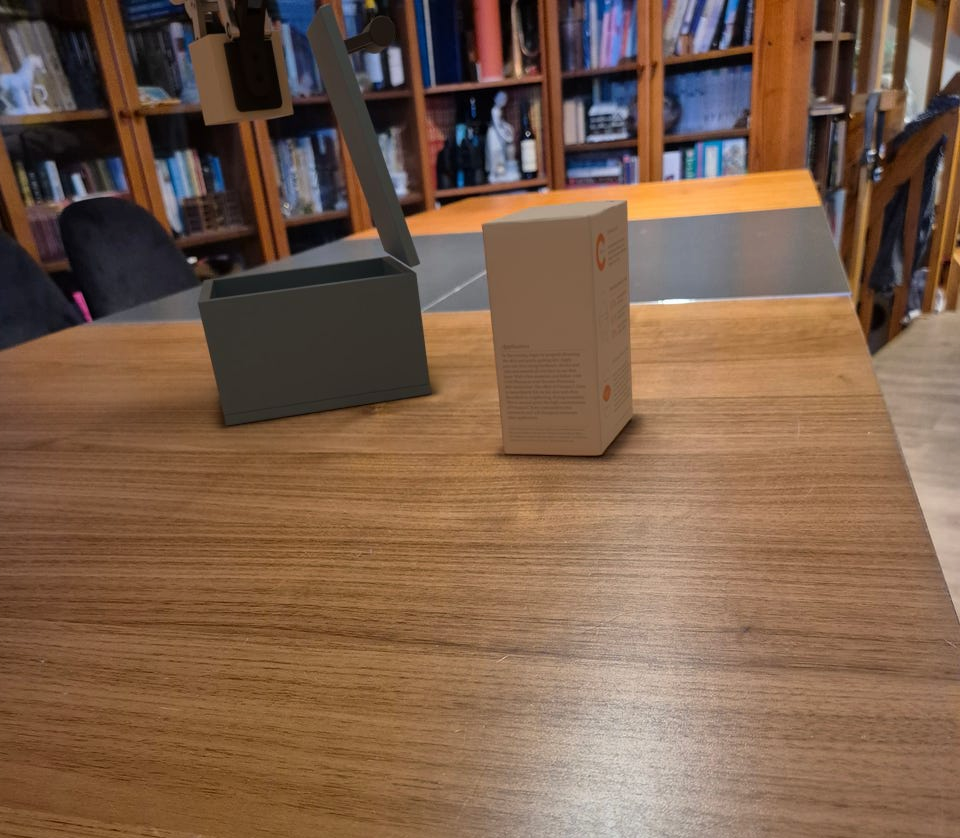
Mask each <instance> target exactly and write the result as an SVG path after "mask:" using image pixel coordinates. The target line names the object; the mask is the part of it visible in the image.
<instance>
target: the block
mask: <svg viewBox="0 0 960 838" xmlns="http://www.w3.org/2000/svg"><path fill="white" fill-rule="evenodd" d="M265 40H272V46H273V51H274V57H275V62H276V68H277V74H278V79H279V85H280V91H281V96H282V106H281V107H280V108H278V109H270V110H260V111H249V112H240V111H238V110H237V108H236V105H235V100H234V95H233V90H232V85H231V80H230V75H229V70H228V64H227V59H226V54H225V49H224V43H228V42H231V41H229V39H228V37H227V34H226V33H224V34H209V35H207V36H205V37H203V38H201V39H199V40H196V41H195V40H194V41H192V42H191V43H189V44H187V47H188V51H189V56H190V61H191V65H192V70H193V74H194V75H193V76H194V80H195V84H196V89H197V93H198V99H199V102H200V106H201V107H200V108H201V110H202V116H203V122H204V125H205V127H206V126H215V125H216V126H217V125H225V124H226V125H227V124H236V123H245V122H247V123H248V122H255V121H256V122H257V121H265V120H273V119H277V118H282V117H287V116H291V115H295V114H294V107H293V101H292V95H291V89H290V84H289V78H288V73H287V66H286V61H285V55H284V50H283V43H282V37H281V31H280V30H278V29H277V30H272V35H271V39H265ZM233 42H235V41H233Z"/></svg>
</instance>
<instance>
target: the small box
mask: <svg viewBox="0 0 960 838" xmlns="http://www.w3.org/2000/svg"><path fill="white" fill-rule="evenodd" d="M628 211H629V210H628V200H626V199H608V200H607V199H605V200H592V201H591V200H590V201H577V202H576V201H575V202H567V203H556V204H549V205H547V204H546V205H539V206H538V205H537V206H530V207H526V208H524V209H521V210H518V211H515V212H512V213H509V214H507V215H504V216H501V217H498V218H495V219H492V220H489V221H486V222H483V223H481V230H482V240H483V249H484V260H485V272H486V282H487V291H488V301H489V311H490V322H491V332H492V342H493V353H494V365H495V374H496V383H497V393H498V404H499V416H500V424H501V435H502V436H501V437H502V449H503V452H504V453H505V454H506V455H549V456H551V455H552V456H600V455H603V453H604V452H605V451H606V449H607V448H608V447H609V446H610V444H611V443H612V442H613V441H614V440H615V438H616V437H617V436H618V435H619V434H620V432H621V431H622V430H623V428H625V426H626V425H627V424H628V422H629V421H630V420H631V419H632V418H633V416H634V411H633V407H634V406H633V376H632V374H633V373H632V354H631V353H632V349H631V302H630V301H631V298H630V297H631V296H630V295H631V294H630V259H629V258H630V257H629V255H630V254H629V253H630V252H629V251H630V250H629V217H628V216H629V215H628V214H629V213H628Z"/></svg>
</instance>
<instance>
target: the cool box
mask: <svg viewBox="0 0 960 838" xmlns="http://www.w3.org/2000/svg"><path fill="white" fill-rule="evenodd" d="M420 299H421V298H420V291H419V283H418V275H417V272H415V271H414V270H412V269H411V268H410V267H409V266H407V265H406V264H404V263H402V262H401V261H399V260H398V259H396V258H395V257H393V256H391V255H386V256H385V255H384V256H379V257H370V258H363V259H355V260H348V261H340V262H333V263H324V264H316V265H309V266H302V267H295V268H287V269H279V270H272V271H265V272H257V273H248V274H241V275H234V276H227V277H226V276H225V277H217V278H211V279H204V280H203V282H202V286H201V289H200V292H199V297H198V300H197V306H198V307H197V308H198V310H199V316H200V320H201V323H202V328H203V331H204V337H205V341H206V345H207V349H208V354H209V358H210V363H211V366H212V371H213V375H214V379H215V384H216V388H217V392H218V393H217V394H218V397H219V401H220V405H221V409H222V414H223V418H224V423H225V426H226V427H227V426H235V425H240V424H241V425H242V424H247V423H254V422H261V421H267V420H273V419H279V418H286V417H292V416H293V417H294V416H299V415H305V414H313V413H319V412H324V411H331V410H338V409H343V408H350V407H357V406H363V405H370V404H376V403H382V402H388V401H389V402H390V401H395V400H401V399H407V398H409V399H410V398H415V397H420V396H428V395H431V394H432V389H431V382H430V380H431V379H430V374H429V373H430V372H429V365H428V357H427V348H426V341H425V340H426V339H425V332H424V325H423V324H424V323H423V315H422V309H421V307H422V306H421V300H420Z"/></svg>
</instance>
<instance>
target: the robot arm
mask: <svg viewBox="0 0 960 838" xmlns="http://www.w3.org/2000/svg"><path fill="white" fill-rule="evenodd" d="M168 1H169V2H170V3H171V4H173V5H174V6H178V5H182V4H184V8H185V11H186V13H187V14H188V16H189V18H190V24H191V28H192V29H193V34H194V41H196V40H199V39H201V38H203V37H205V36H207V35H209V34H224V33H226V34H227V37H228V39H229V41H231V42H228V43H224V49H225V54H226V59H227V64H228V70H229V75H230V80H231V85H232V90H233V95H234V100H235V105H236V108H237V110H238V111H240V112H249V111H260V110H270V109H278V108H280V107H281V106H282V96H281V91H280V85H279V79H278V74H277V68H276V62H275V57H274V51H273V46H272V40H265V39H271V35H272V31H273V30H272V24H271V21H270V17H269V14H268V10H267V4H268V2H269V0H168ZM218 13H220V16H221V18H220V16H219V14H218ZM221 19H222V20H221ZM233 41H235V42H233Z"/></svg>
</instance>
